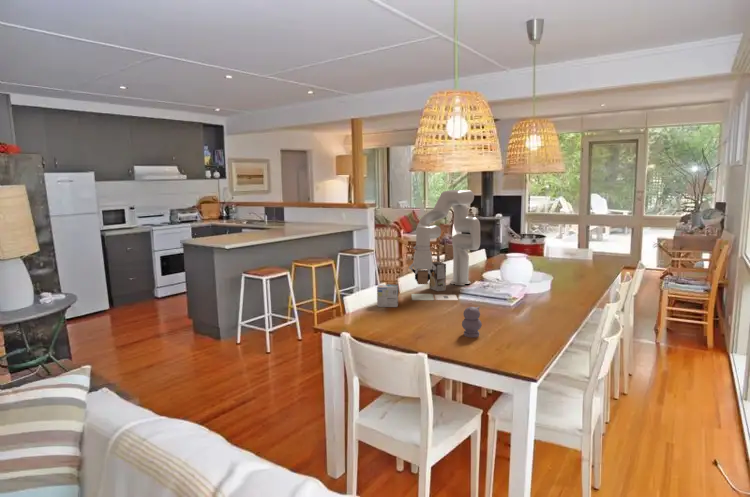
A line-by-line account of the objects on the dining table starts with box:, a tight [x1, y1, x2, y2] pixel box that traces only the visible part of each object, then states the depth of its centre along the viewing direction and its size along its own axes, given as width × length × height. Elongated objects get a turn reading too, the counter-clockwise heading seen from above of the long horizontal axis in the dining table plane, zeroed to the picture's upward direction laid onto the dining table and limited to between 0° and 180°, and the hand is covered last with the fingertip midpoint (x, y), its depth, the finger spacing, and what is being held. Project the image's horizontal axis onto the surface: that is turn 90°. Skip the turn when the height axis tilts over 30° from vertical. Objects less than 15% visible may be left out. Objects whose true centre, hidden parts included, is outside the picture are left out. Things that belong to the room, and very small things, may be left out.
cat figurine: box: [461, 306, 483, 338], centre depth 192 cm, size 8×8×12 cm
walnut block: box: [416, 269, 429, 285], centre depth 255 cm, size 6×6×7 cm
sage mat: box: [410, 293, 435, 301], centre depth 257 cm, size 14×12×1 cm
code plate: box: [434, 294, 459, 301], centre depth 256 cm, size 12×12×1 cm
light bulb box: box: [376, 283, 399, 308], centre depth 239 cm, size 11×7×11 cm, turn 84°
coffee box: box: [429, 261, 447, 292], centre depth 275 cm, size 9×6×16 cm
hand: (422, 280), depth 255 cm, fingers closed on walnut block, 5 cm apart
